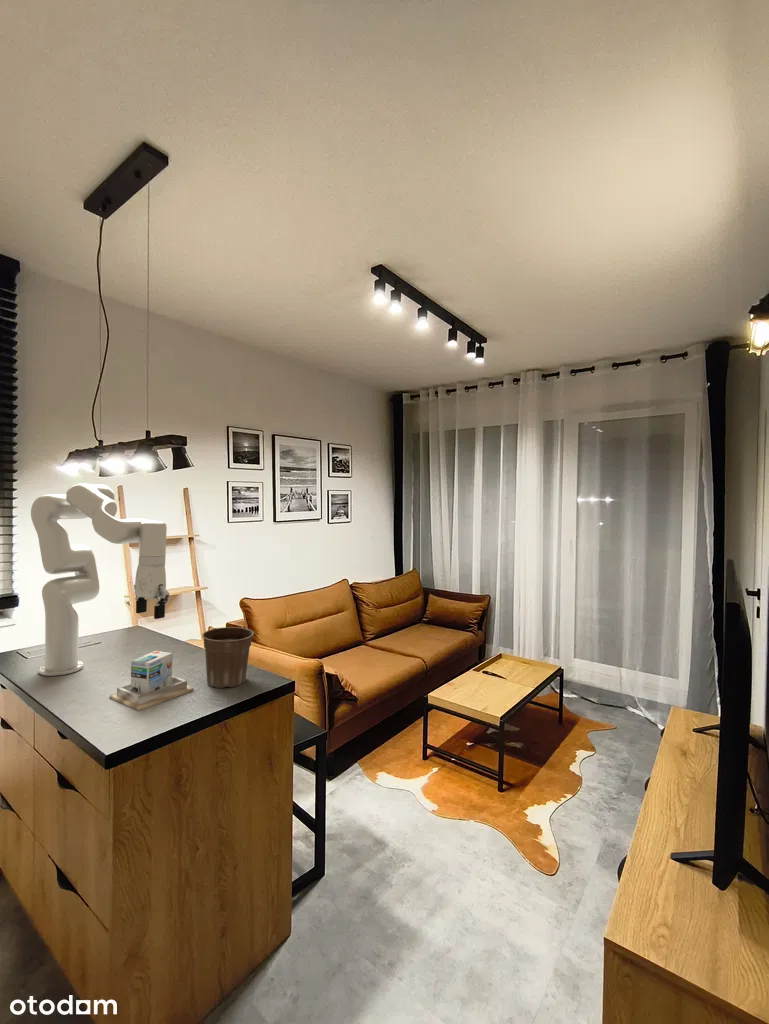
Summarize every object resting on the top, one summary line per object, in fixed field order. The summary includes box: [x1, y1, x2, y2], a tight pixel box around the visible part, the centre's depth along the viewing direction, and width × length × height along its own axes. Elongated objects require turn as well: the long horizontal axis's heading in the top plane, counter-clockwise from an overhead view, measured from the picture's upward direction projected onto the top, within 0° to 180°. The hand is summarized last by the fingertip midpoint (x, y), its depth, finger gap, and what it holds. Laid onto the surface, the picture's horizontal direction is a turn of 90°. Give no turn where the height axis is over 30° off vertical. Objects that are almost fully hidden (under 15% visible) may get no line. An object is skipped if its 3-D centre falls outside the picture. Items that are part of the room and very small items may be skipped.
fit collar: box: [109, 675, 195, 711], centre depth 149 cm, size 15×18×3 cm
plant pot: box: [201, 626, 254, 689], centre depth 161 cm, size 16×16×16 cm
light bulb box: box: [130, 650, 173, 696], centre depth 149 cm, size 11×7×11 cm, turn 165°
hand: (150, 615), depth 152 cm, fingers open, 9 cm apart
